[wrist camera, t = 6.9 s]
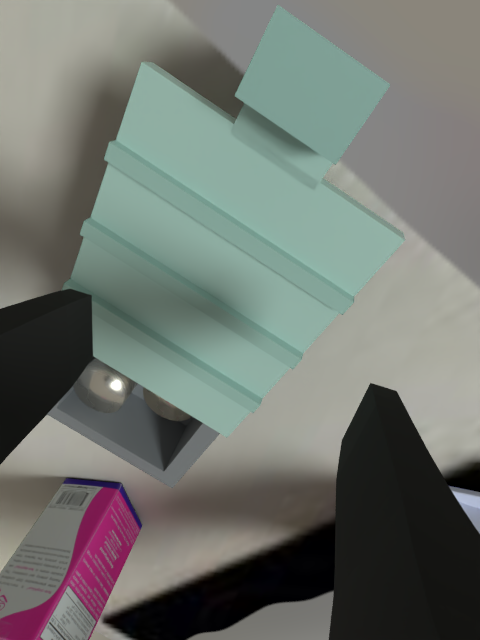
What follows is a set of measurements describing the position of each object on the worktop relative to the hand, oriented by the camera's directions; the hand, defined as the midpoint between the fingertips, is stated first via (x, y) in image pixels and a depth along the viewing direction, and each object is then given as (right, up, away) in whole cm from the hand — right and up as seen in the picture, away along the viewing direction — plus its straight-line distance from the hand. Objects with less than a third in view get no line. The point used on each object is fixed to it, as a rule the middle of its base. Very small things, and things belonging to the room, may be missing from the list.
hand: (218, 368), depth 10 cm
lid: (0, +5, +6) cm, 8 cm away
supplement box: (-11, -15, +25) cm, 31 cm away
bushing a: (-7, -1, +14) cm, 16 cm away
